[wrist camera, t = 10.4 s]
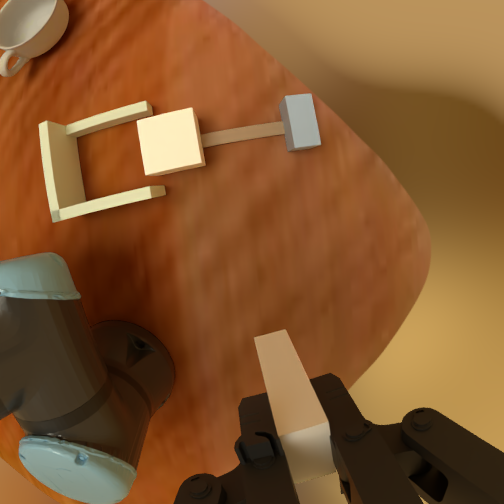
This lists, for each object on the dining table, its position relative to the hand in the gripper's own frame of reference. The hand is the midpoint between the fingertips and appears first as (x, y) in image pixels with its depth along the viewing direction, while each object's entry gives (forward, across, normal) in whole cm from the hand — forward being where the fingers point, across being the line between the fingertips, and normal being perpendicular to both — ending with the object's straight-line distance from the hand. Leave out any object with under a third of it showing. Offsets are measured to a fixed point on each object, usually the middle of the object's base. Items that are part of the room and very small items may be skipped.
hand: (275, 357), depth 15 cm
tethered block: (+26, +2, +14) cm, 30 cm away
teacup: (+27, -21, +38) cm, 51 cm away
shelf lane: (+27, -13, +15) cm, 33 cm away
